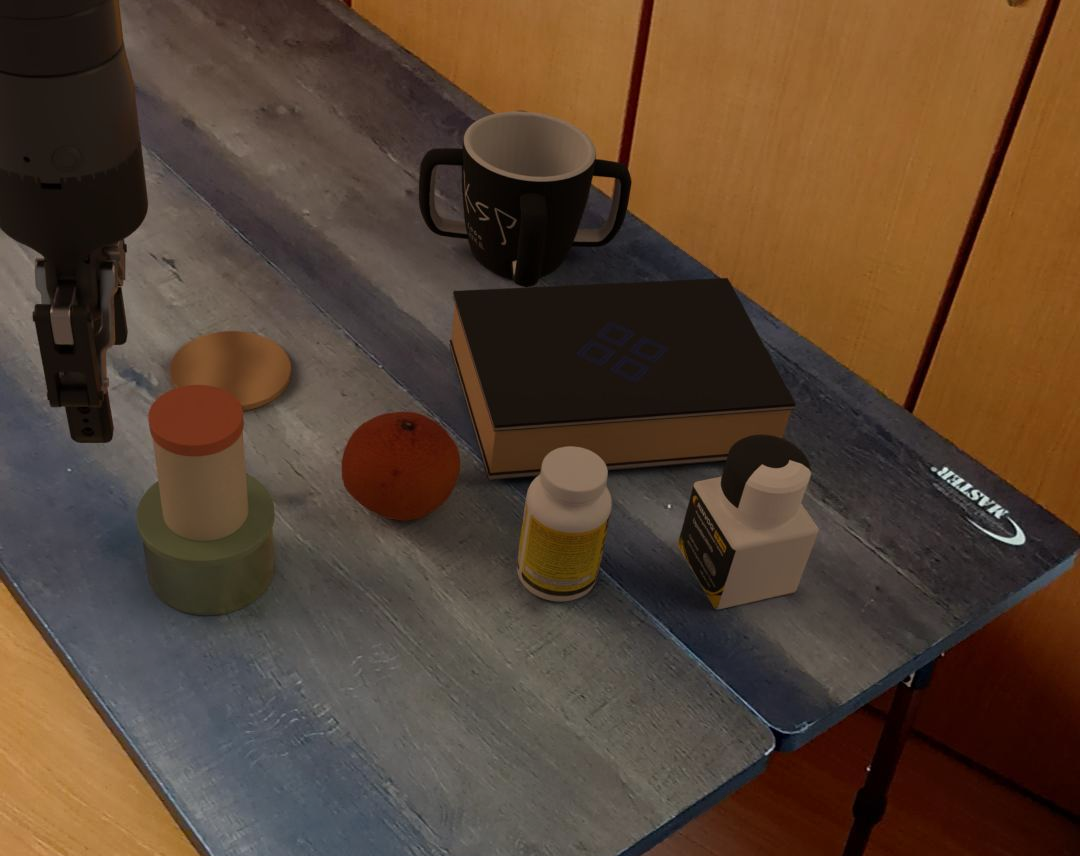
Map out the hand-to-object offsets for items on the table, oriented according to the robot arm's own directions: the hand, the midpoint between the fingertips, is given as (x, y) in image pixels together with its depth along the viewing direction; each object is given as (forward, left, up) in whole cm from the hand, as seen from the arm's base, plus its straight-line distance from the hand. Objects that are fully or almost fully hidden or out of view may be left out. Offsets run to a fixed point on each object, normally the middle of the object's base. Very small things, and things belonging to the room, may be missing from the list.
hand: (101, 388), depth 75 cm
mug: (+38, +42, -23) cm, 61 cm away
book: (+40, +19, -23) cm, 50 cm away
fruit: (+20, +11, -23) cm, 32 cm away
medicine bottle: (+44, -1, -23) cm, 50 cm away
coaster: (+9, +28, -22) cm, 37 cm away
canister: (+5, +6, -16) cm, 18 cm away
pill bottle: (+30, +1, -23) cm, 38 cm away
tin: (+5, +6, -22) cm, 24 cm away
